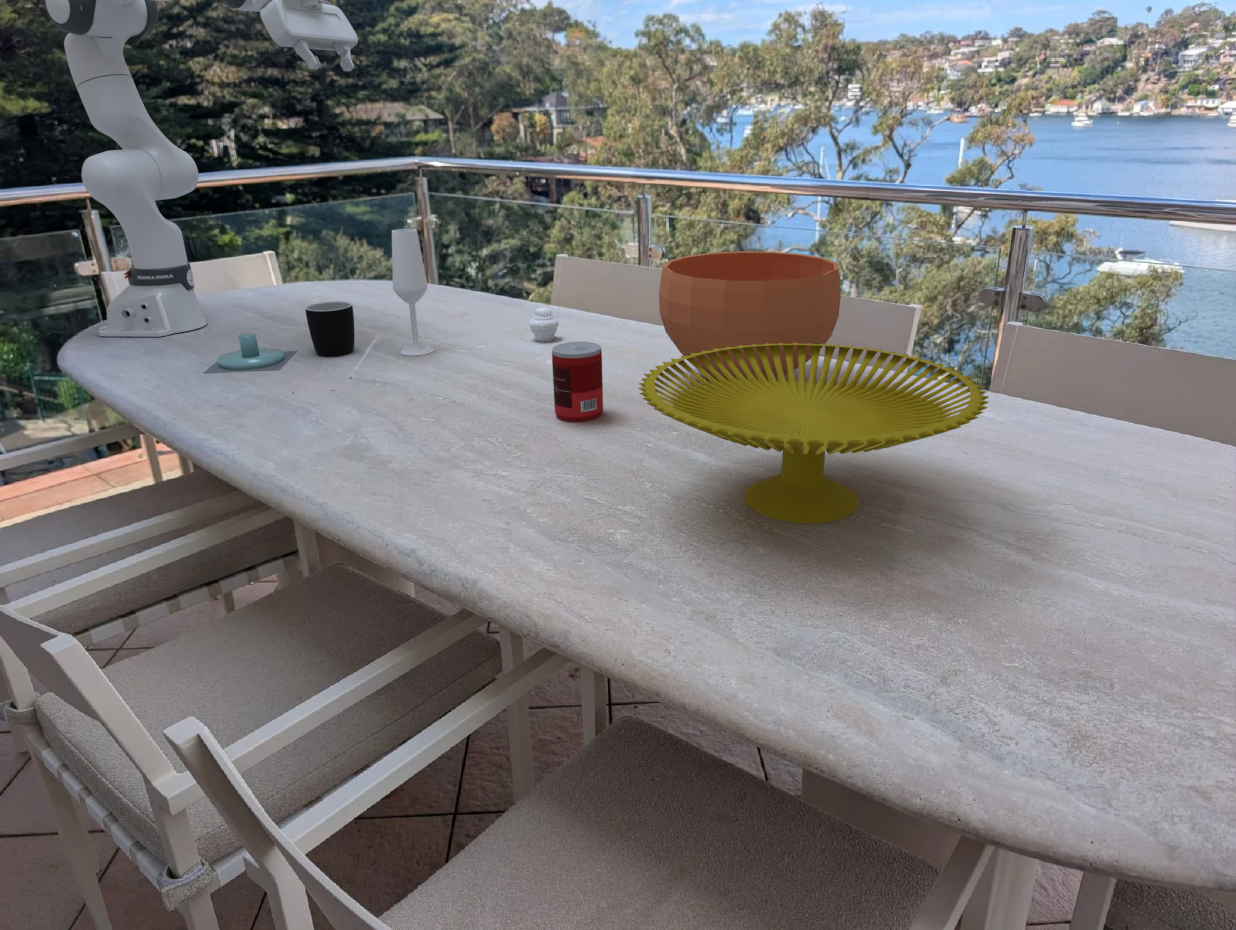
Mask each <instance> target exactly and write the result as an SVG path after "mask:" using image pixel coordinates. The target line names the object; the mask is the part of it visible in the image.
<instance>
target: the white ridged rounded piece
mask: <svg viewBox="0 0 1236 930" xmlns="http://www.w3.org/2000/svg"><path fill="white" fill-rule="evenodd" d="M528 322H529V323H528V326H529V327H530V330H531V332H532V334H533V335H534V338H535V339H536V341H538V342H543V343H546V342H551V341H552V340H553V339H554V337H555V334H556V333H557V330H558V326H559V320H558V319H557V318H556V317H555V316H554V314H553V311H552V310H551V309H550V308H548V307H544V306H542V307H539V308H536V310H534V315H533V316H532V318H531V319H530V320H529V321H528Z"/></svg>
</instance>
